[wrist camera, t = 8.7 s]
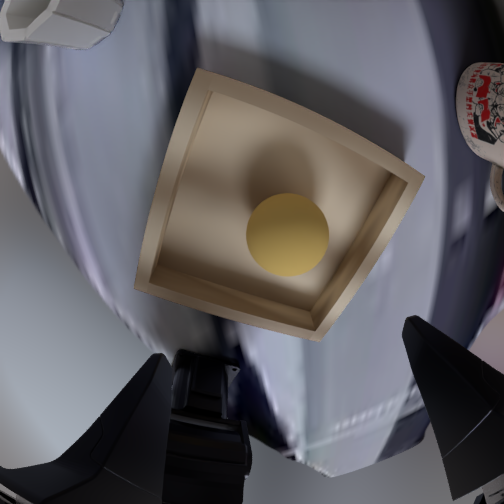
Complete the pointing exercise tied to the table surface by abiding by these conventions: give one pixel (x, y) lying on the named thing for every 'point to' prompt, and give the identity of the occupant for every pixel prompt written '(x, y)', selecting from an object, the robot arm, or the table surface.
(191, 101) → the tray
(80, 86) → the table surface
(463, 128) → the teacup with lid
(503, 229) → the table surface
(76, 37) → the cup
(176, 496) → the robot arm
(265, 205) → the ball
